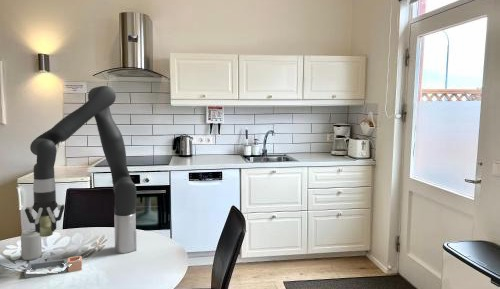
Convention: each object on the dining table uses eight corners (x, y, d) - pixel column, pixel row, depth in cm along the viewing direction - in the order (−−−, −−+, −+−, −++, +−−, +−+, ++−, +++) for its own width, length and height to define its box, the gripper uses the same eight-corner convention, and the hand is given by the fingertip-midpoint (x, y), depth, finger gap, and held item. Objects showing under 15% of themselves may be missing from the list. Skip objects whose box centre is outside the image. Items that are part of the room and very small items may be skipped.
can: (32, 261, 149) (31, 234, 148) (17, 259, 150) (16, 232, 149) (45, 254, 156) (45, 228, 155) (31, 252, 158) (30, 226, 156)
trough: (68, 263, 149) (67, 258, 148) (66, 272, 141) (66, 267, 140) (28, 268, 143) (28, 263, 143) (24, 278, 135) (24, 273, 135)
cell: (53, 232, 143) (52, 211, 142) (52, 236, 139) (51, 214, 138) (40, 233, 142) (39, 212, 141) (38, 237, 137) (38, 215, 136)
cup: (81, 264, 147) (81, 255, 147) (81, 270, 143) (81, 260, 142) (68, 266, 145) (68, 257, 145) (67, 272, 141) (67, 262, 140)
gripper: (65, 186, 145) (66, 226, 146) (24, 188, 139) (26, 230, 141) (64, 190, 138) (65, 232, 140) (21, 193, 132) (23, 237, 134)
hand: (46, 231), depth 140 cm, fingers closed on cell, 4 cm apart
